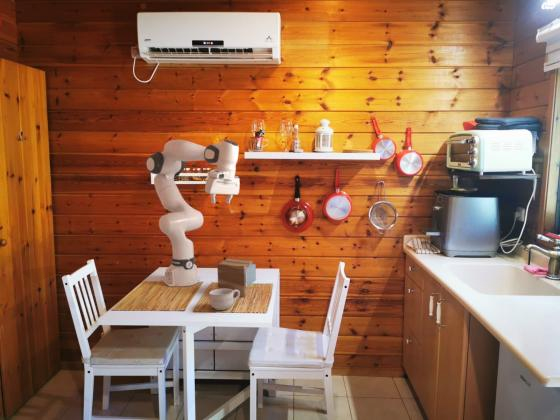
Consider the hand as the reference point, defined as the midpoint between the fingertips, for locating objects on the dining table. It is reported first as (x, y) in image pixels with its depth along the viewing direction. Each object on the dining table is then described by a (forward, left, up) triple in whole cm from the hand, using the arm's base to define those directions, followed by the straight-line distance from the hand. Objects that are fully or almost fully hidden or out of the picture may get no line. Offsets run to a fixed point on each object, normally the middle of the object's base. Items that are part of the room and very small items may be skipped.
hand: (220, 203), depth 213 cm
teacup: (+15, -9, -46) cm, 49 cm away
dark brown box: (+1, +8, -46) cm, 46 cm away
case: (-7, +21, -46) cm, 51 cm away
